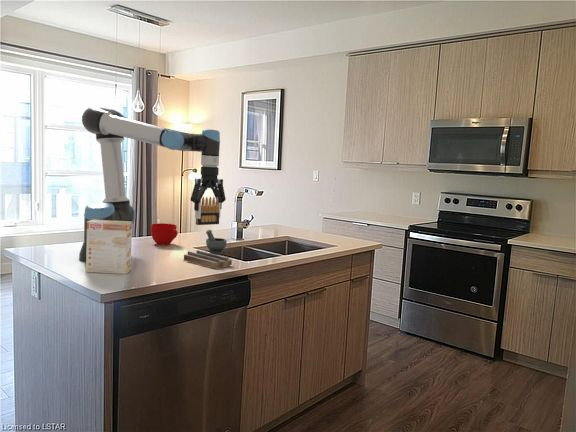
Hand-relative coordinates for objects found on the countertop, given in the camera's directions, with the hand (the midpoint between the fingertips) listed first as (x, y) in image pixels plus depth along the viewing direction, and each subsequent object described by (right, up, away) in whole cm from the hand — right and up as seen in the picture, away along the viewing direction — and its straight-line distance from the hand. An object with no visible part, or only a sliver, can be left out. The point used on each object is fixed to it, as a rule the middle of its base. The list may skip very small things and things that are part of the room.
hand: (207, 217), depth 201 cm
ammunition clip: (0, -3, 0) cm, 3 cm away
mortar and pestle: (-1, -18, +25) cm, 31 cm away
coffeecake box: (-34, -21, -22) cm, 46 cm away
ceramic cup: (-29, -14, +40) cm, 51 cm away
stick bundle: (-1, -20, +3) cm, 20 cm away
